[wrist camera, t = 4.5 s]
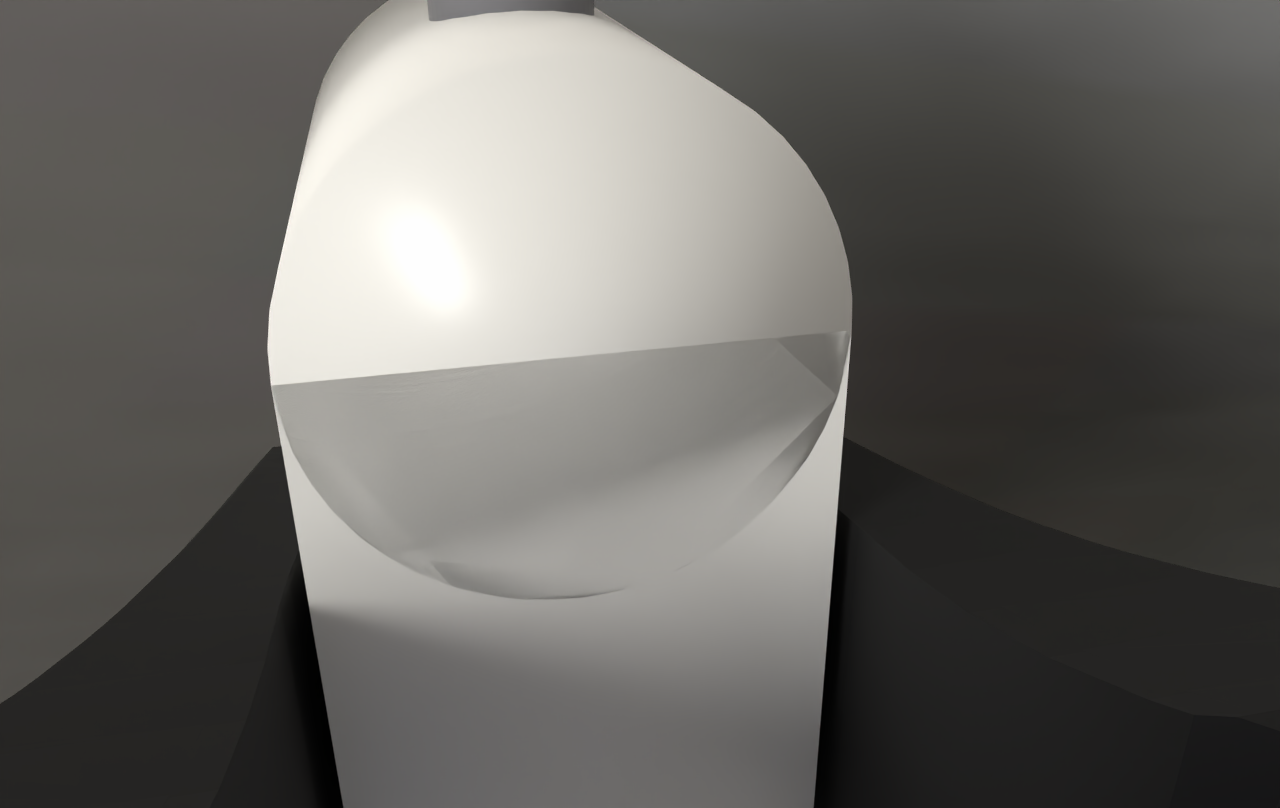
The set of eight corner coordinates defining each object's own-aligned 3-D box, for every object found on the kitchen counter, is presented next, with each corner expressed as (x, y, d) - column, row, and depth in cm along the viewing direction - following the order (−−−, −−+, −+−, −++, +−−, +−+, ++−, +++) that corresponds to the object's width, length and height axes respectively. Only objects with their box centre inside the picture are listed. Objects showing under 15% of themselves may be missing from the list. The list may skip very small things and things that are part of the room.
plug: (258, -209, 9) (157, -272, 5) (665, -208, 10) (898, -263, 6) (416, 913, 15) (434, 1339, 11) (665, 867, 16) (778, 1252, 11)
